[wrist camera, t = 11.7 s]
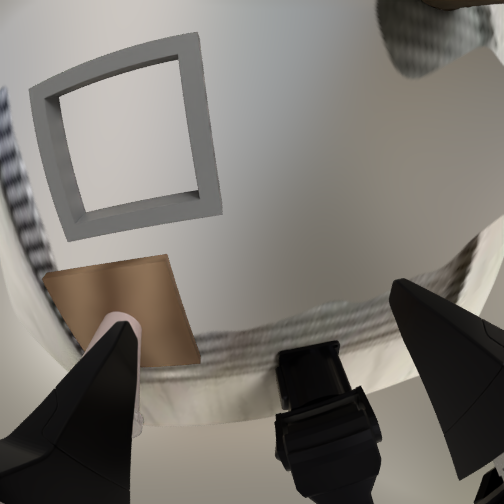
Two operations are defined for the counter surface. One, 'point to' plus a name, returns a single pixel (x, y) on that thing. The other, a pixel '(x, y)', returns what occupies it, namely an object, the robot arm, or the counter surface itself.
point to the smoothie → (121, 316)
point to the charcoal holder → (58, 156)
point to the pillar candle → (459, 3)
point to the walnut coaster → (128, 306)
